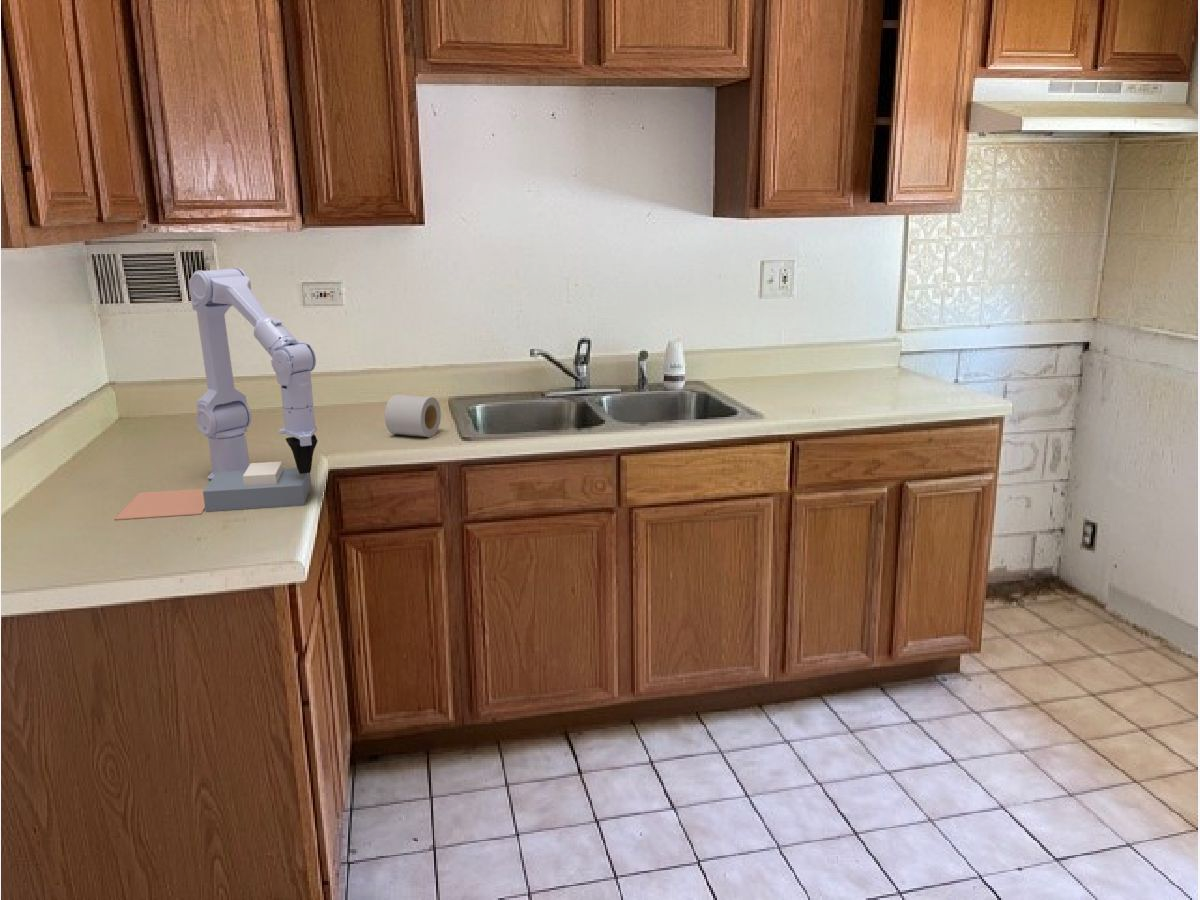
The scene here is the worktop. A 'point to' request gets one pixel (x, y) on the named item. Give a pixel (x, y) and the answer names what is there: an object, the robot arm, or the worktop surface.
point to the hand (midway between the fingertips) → (304, 472)
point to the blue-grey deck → (256, 491)
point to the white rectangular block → (262, 473)
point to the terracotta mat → (164, 504)
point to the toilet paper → (412, 415)
